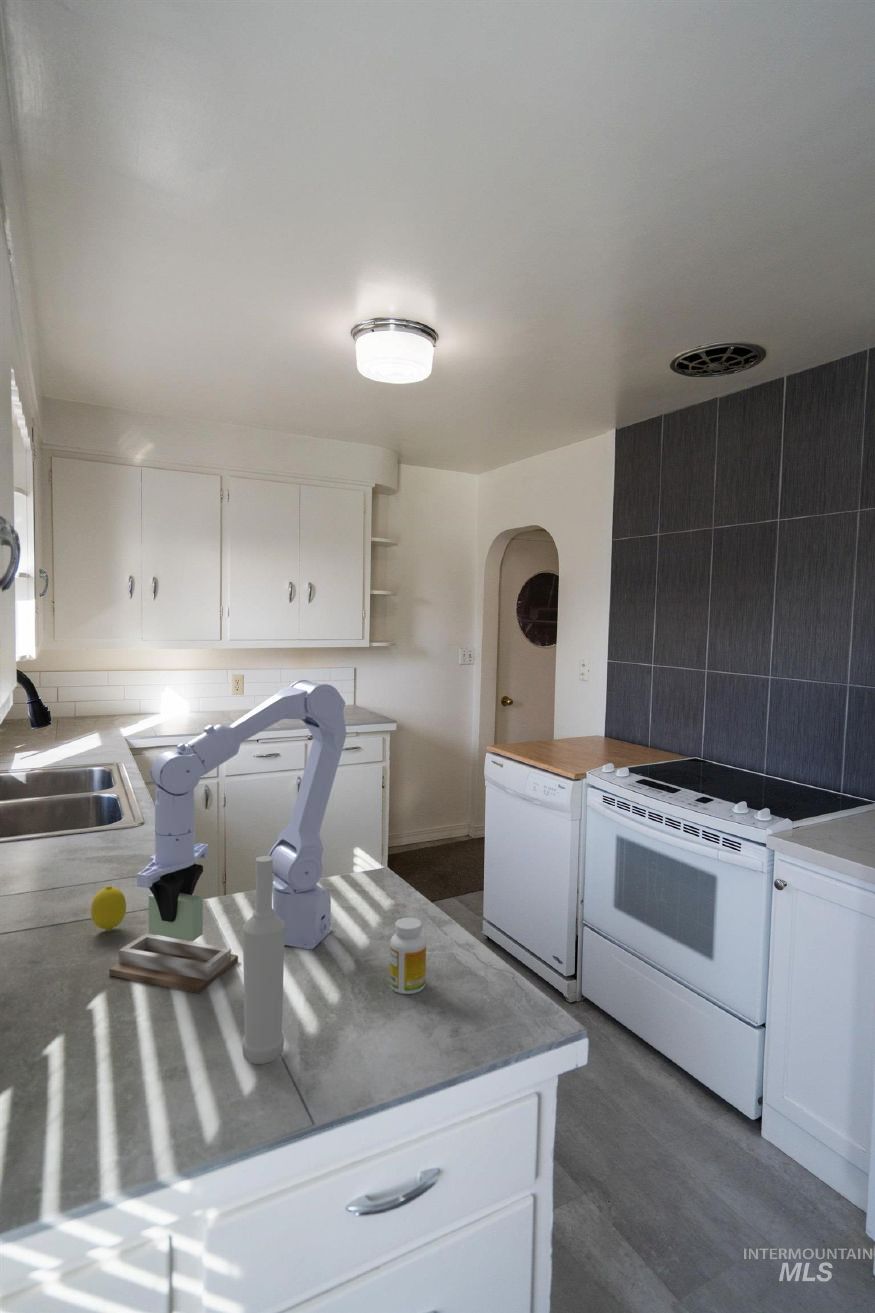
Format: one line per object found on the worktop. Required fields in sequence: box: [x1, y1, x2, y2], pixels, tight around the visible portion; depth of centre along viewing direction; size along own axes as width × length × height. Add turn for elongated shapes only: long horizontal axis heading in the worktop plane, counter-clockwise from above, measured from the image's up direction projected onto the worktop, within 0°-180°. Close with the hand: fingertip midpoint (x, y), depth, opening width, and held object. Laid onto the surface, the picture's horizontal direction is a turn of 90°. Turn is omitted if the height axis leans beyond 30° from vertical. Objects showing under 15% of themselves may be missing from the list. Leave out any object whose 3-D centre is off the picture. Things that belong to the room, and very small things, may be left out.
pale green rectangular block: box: [148, 893, 204, 942], centre depth 108 cm, size 8×2×6 cm, turn 73°
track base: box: [108, 933, 239, 994], centre depth 108 cm, size 16×10×3 cm, turn 73°
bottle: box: [242, 855, 285, 1065], centre depth 87 cm, size 5×5×25 cm
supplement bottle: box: [389, 917, 427, 995], centre depth 104 cm, size 5×5×10 cm
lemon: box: [90, 885, 127, 932], centre depth 120 cm, size 6×6×8 cm
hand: (175, 916), depth 108 cm, fingers closed on pale green rectangular block, 2 cm apart
